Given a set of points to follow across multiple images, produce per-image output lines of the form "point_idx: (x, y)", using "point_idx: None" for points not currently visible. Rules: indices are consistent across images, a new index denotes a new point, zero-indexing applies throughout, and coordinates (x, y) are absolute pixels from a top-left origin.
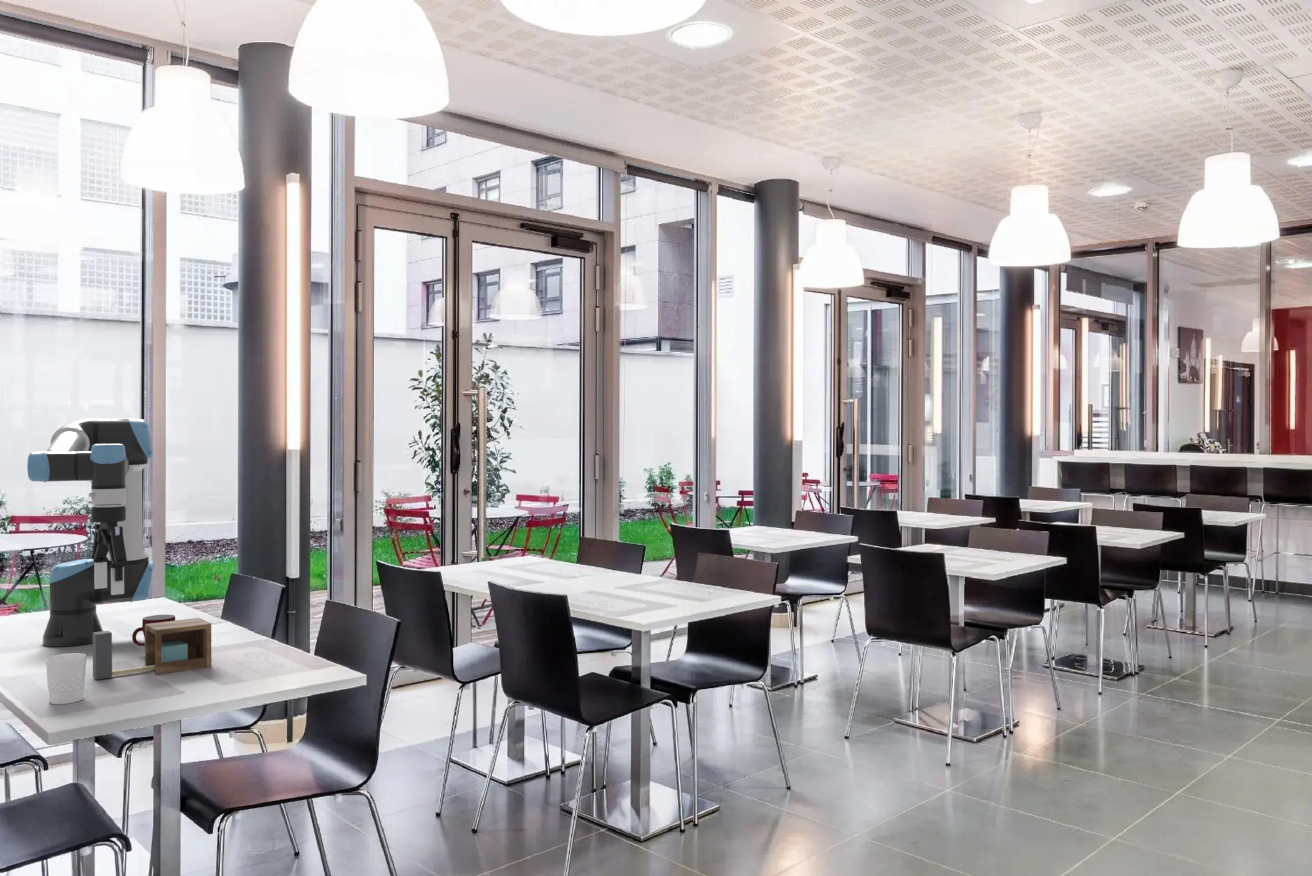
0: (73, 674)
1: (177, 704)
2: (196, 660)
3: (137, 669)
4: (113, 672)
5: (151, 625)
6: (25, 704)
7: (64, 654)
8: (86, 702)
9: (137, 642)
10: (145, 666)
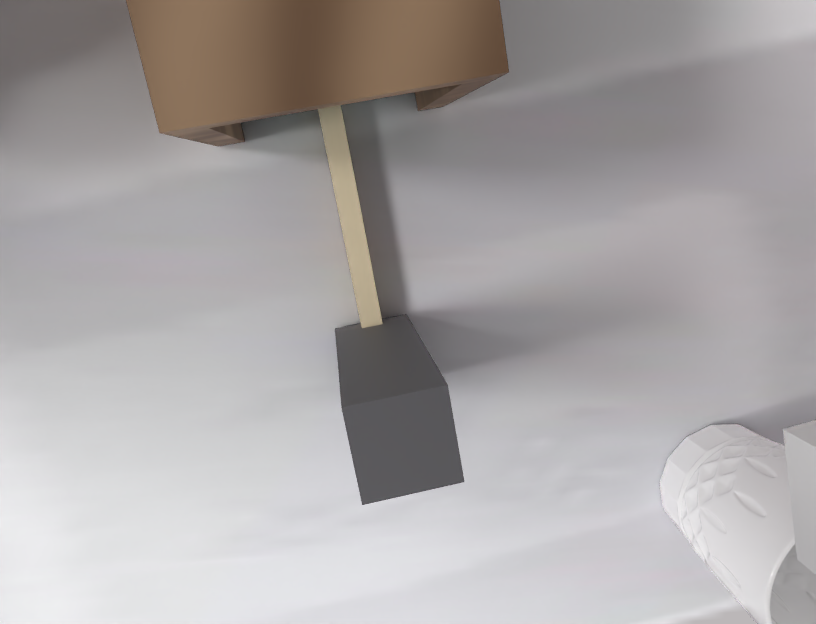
0: None
1: None
2: None
3: (356, 194)
4: (379, 311)
5: (258, 86)
6: (682, 608)
7: (770, 601)
8: (790, 410)
9: None
10: (331, 151)
